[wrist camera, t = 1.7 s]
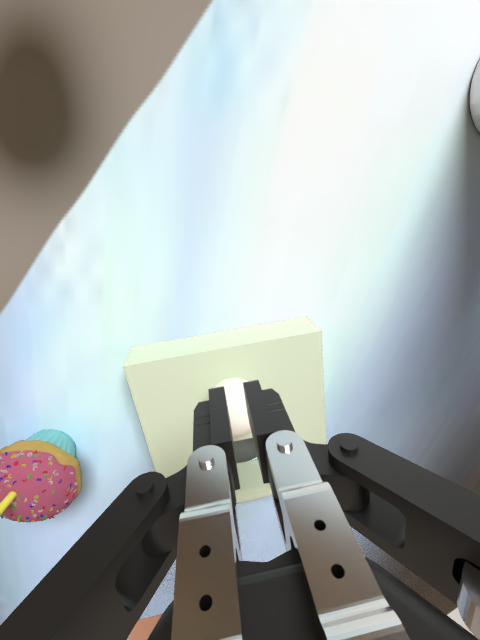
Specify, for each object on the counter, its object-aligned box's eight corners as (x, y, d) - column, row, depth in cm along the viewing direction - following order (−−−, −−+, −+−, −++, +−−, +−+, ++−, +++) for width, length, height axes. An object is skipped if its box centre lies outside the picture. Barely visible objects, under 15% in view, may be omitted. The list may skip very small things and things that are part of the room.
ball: (254, 362, 28) (265, 393, 24) (260, 407, 30) (271, 443, 25) (200, 372, 28) (201, 405, 23) (210, 417, 30) (212, 455, 25)
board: (307, 316, 32) (403, 412, 17) (315, 456, 38) (389, 613, 24) (111, 350, 30) (27, 488, 15) (156, 489, 37) (127, 679, 22)
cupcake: (-7, 430, 32) (-119, 551, 20) (71, 403, 32) (1, 509, 21) (38, 486, 35) (-38, 618, 24) (109, 461, 35) (67, 582, 24)
